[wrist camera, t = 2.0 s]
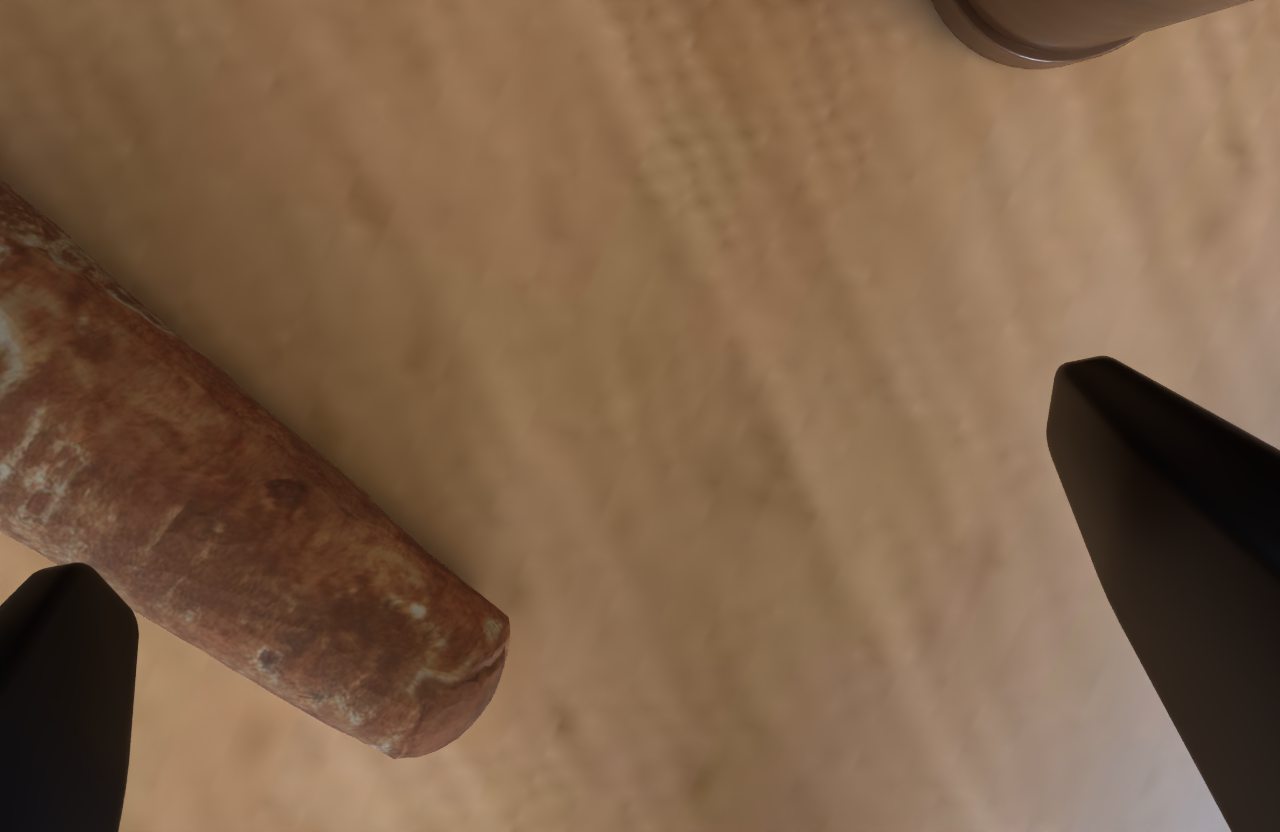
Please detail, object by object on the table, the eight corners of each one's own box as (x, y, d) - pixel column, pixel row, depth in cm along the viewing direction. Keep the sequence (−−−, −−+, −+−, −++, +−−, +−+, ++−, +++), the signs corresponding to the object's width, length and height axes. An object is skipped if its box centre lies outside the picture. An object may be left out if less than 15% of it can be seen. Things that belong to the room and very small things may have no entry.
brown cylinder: (-99, 32, 21) (-357, -21, 15) (562, 601, 24) (541, 724, 18) (-258, 250, 22) (-553, 272, 16) (396, 768, 25) (330, 930, 20)
